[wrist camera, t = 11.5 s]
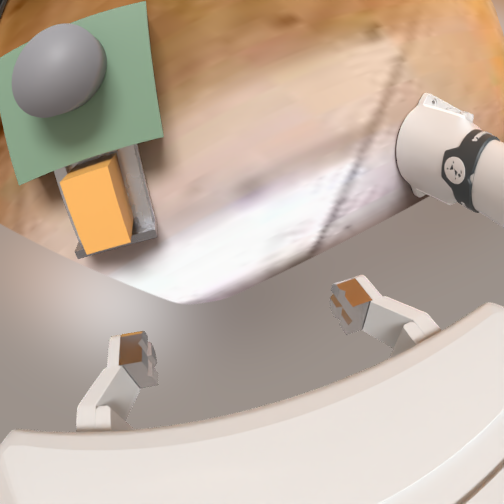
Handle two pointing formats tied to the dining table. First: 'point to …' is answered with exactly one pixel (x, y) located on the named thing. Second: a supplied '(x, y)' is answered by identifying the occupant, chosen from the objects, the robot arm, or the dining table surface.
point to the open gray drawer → (135, 191)
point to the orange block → (99, 203)
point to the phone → (2, 6)
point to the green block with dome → (79, 91)
